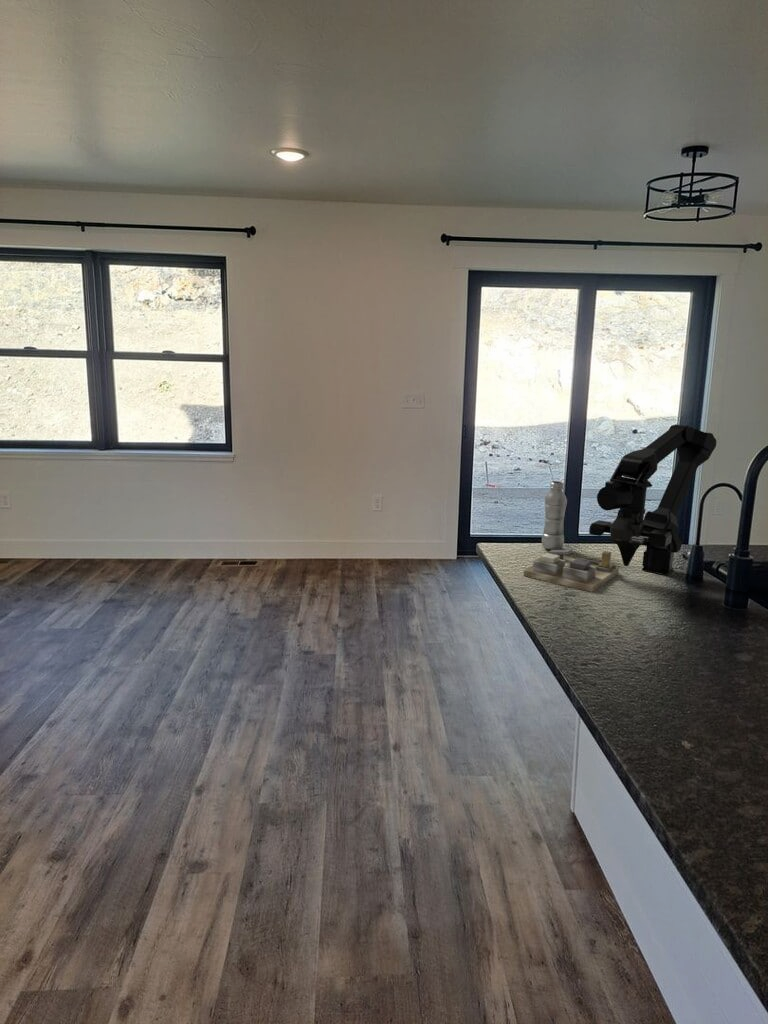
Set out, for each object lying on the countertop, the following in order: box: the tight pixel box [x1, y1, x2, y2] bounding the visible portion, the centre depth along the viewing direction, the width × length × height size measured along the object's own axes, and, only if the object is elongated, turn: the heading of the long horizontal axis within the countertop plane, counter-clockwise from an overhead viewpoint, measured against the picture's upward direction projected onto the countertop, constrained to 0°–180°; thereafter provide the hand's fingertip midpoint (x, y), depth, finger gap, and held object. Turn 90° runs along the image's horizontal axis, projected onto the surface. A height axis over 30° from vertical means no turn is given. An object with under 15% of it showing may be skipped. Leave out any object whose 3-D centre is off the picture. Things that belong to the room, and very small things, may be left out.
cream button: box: [539, 552, 560, 564], centre depth 164 cm, size 4×4×2 cm
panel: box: [523, 554, 620, 593], centre depth 166 cm, size 18×18×4 cm
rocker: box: [547, 549, 573, 555], centre depth 174 cm, size 6×3×1 cm, turn 51°
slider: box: [598, 550, 614, 569], centre depth 166 cm, size 3×2×4 cm
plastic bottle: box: [541, 480, 568, 551], centre depth 187 cm, size 6×7×20 cm
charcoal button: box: [570, 558, 590, 571], centre depth 159 cm, size 4×4×2 cm
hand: (626, 565), depth 163 cm, fingers closed
